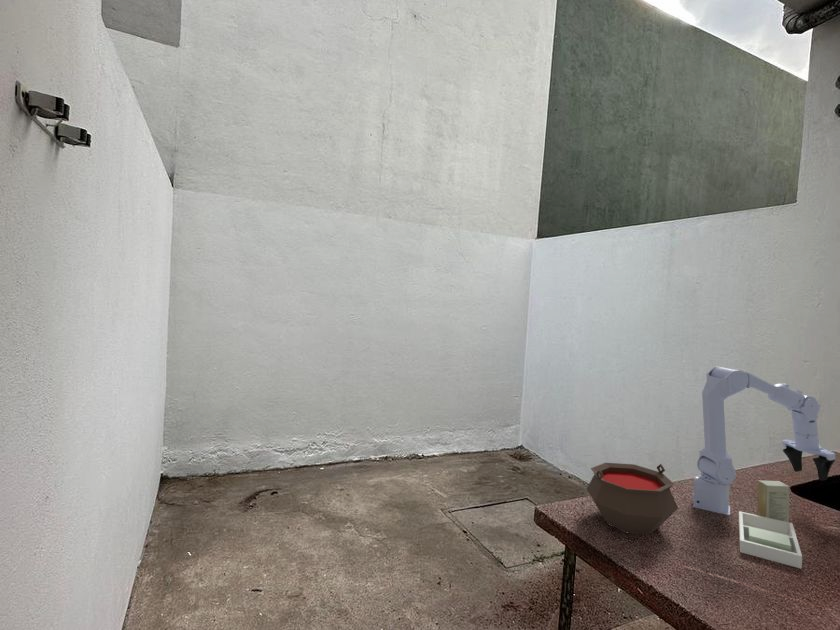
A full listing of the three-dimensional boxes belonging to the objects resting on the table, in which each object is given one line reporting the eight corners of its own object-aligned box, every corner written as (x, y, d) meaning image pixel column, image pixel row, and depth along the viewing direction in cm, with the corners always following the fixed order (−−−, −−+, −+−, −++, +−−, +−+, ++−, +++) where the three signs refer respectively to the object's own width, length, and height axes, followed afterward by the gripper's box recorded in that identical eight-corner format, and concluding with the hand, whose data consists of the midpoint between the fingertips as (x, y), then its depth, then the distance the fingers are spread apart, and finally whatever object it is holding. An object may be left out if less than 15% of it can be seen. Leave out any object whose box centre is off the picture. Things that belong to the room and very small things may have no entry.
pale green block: (748, 550, 114) (749, 535, 114) (748, 540, 119) (748, 526, 119) (790, 561, 109) (791, 546, 109) (787, 550, 114) (788, 535, 114)
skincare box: (778, 521, 131) (780, 480, 131) (789, 528, 127) (791, 486, 126) (755, 520, 132) (756, 479, 131) (765, 527, 127) (766, 485, 127)
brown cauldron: (623, 549, 114) (625, 486, 114) (568, 508, 137) (570, 455, 137) (698, 538, 121) (700, 478, 120) (633, 500, 144) (635, 450, 143)
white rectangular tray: (739, 553, 113) (740, 540, 113) (738, 522, 130) (738, 511, 130) (801, 570, 106) (802, 556, 106) (791, 535, 123) (792, 523, 123)
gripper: (841, 436, 133) (846, 481, 133) (793, 424, 147) (797, 464, 147) (822, 441, 131) (827, 486, 132) (775, 428, 146) (779, 469, 146)
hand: (810, 475), depth 139 cm, fingers open, 7 cm apart
